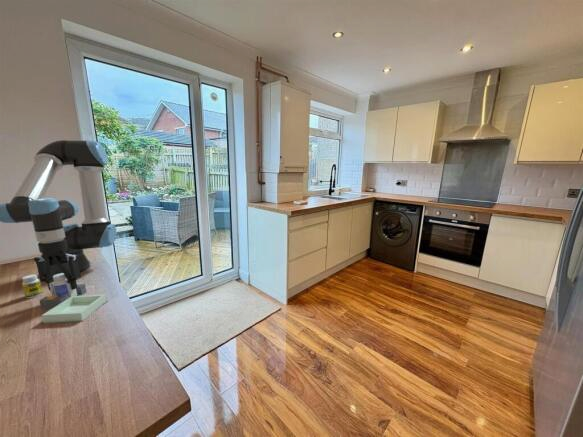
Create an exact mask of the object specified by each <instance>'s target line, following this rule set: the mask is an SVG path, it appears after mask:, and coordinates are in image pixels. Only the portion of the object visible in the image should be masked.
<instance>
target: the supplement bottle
mask: <svg viewBox="0 0 583 437" xmlns="http://www.w3.org/2000/svg"><path fill="white" fill-rule="evenodd" d="M21 279H22V283H21V286H22V289H23V294H24V297H25V298H26V299H33V298H37V297H39V296H42V294H43V291H42V290H43V289H42V286H41V281H40V278H38V275H37V274H29V275H25V276H23V277H22V278H21Z"/></svg>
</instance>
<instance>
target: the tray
mask: <svg viewBox="0 0 583 437" xmlns="http://www.w3.org/2000/svg"><path fill="white" fill-rule="evenodd" d="M107 303H108V297H107V294H105V293H104V294H88V295H84V294H82V295H76V296H72V297H70V298H68V299H67V300H65V301H64V302H62V303H61V304H59V305H57V306H56V307H54V308H52V309H48V311H46V312H45V313H43V314H42V315H41V318H42V322H43V324H55V323H56V324H57V323H74V322H75V323H76V322H83V321H85V320H86V319H87V318H89V317H90V316H91V315H92V314H94V313H96V311H98V310H99V309H100V308H101V307H103V305H105V304H107Z"/></svg>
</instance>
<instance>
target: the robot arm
mask: <svg viewBox="0 0 583 437" xmlns="http://www.w3.org/2000/svg"><path fill="white" fill-rule="evenodd" d="M33 160H34V163H33V165H32V167H31V169H30V170H29V172H28V173H27V175H26V177H25V178H24V180H23V181H22V183H21V184H20V186H19V187H18V189H17V191H16V193H15V194H14V196H13V198H12V199H11V200H10V201H9V202H4V203H0V222H1V223H3V224H4V223H5V224H19V223H30V222H31V223H32V225H33V229H34V230H33V231H34V234H35V237H36V241H37V242H38V243H37V247H38V251H39V253H40V254H41V255H39V256H37V257H34V258H33V261H34V262H35V263H36V268H37V272H38V276H39V278H38V279H39V281H40V283H46V284H47V287H48V290H49V291H50V293H51V294H50V295H51V296H54V295H55V294H54V290H53V287H52V282H53V281H54V280H53V276H54V275H56V274H60V273H64V275H65V277H66V279H67V280H68V282H67V283H66V285H67V289H68V293H69V298H70V297H72V296H78V295H77V291H76V288H77V285H78V284H77V281H78V280H80V278H82V275H81V272H84V271H86V270H88V269H89V268H90V267H91V262H90V260H89V259H88V258H87V256H86V254H85V253H84V250H87V249H96V248H98V249H99V248H101V249H103V248H106V247H107V248H108V247H111V246H113V245H114V243H115V241H116V238H117V226H116V225H115V224H113V223H111V220H110V219H109V218H107V212H106V204H105V197H104V196H105V195H104V188H103V180H102V173H101V172H102V171H103V170H105V167H104V166H106V165H108V162H109V161H108V160H109V159H108V155H107V151H106V149H105V148H104V146H103V145H102V143H100V142H98V141H95V140H66V139H64V140H63V139H62V140H56V141H52V142H50V143H47V145H44V146H43V147H42V148H41V149H39V150H38V152H36V154H35V156H34V157H33ZM68 165H69V166H73V169H74V170H76V171H78V178H79V184H80V191H81V193H80V194H81V201H82V207H83V208H82V209H83V216H84V220H83V221H82V222H81V226H79V224H78V223H70V224H63V221H65V220H68V219H72V218H73V217H75V216H76V215H77V214H78V213H79V207H78V205H77V203H76V202H74V201H72V200H70V199H64V200H63V199H62V200H61V199H60V200H57V199H56V198H44V197H45V195H46V194H47V192H48V190H49V187H50V186H51V184H52V182H53V180H54V178H55V176H56V175H57V172H58V171H60V170H62V169H63V167H64V166H68Z"/></svg>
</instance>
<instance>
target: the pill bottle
mask: <svg viewBox="0 0 583 437" xmlns="http://www.w3.org/2000/svg"><path fill="white" fill-rule="evenodd" d="M53 280H54V281H53V282H52V287H53V290H54V294H55V295H58V296H66V300H67V299H68V298H69V293H68V289H67V285H66V283H67V282H68V280H67V279H66V277H65V275H64V273H60V274H56V275H54V276H53Z"/></svg>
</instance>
